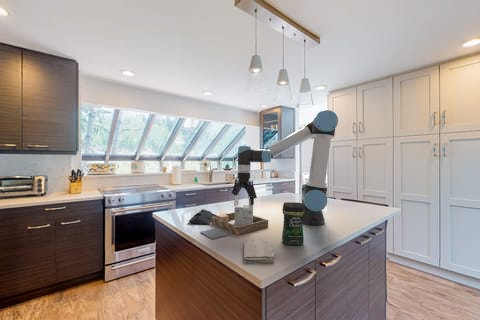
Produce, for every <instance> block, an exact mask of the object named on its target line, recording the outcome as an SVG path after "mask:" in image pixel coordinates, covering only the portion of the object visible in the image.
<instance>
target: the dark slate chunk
mask: <svg viewBox="0 0 480 320" xmlns="http://www.w3.org/2000/svg"><path fill="white" fill-rule="evenodd" d="M213 216H217V214H215V213H213V212H212V211H210V210H207V209H205V208H202V209H200V211H199V212H197V213H195V214H194V215H193V216H192V217H191V218H190V219H189V220H188V222H189V223H190V224H195V223H196V224H199V225H205V226H207V225H212V217H213Z"/></svg>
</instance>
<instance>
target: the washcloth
mask: <svg viewBox="0 0 480 320" xmlns="http://www.w3.org/2000/svg"><path fill="white" fill-rule="evenodd" d="M274 257H275V253H274V248H273V246H272V244H271V241H270V240H261V241H255V240H250V241H248V240H247V241H244V242H243V259H244V260H243V261H244V264H246V263H248V264H249V263H250V264H273V263H275V259H274Z"/></svg>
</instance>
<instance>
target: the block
mask: <svg viewBox="0 0 480 320" xmlns="http://www.w3.org/2000/svg"><path fill="white" fill-rule="evenodd" d="M225 214H226V213H224V214H218V215H217V214H216V215H217V218H218V219H220V220H223V221H225V222H228V223H230V220H229V216H228V215H225Z"/></svg>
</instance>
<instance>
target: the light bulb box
mask: <svg viewBox="0 0 480 320" xmlns="http://www.w3.org/2000/svg"><path fill="white" fill-rule="evenodd" d="M234 212H235V219H234V225H235V226H243V225H247V224H252V223H253V215H254V209H253V210H251V211H249V204H248V205H247V204H246V205H245V204H244V205H243V204H238V205H236V206H234Z"/></svg>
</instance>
